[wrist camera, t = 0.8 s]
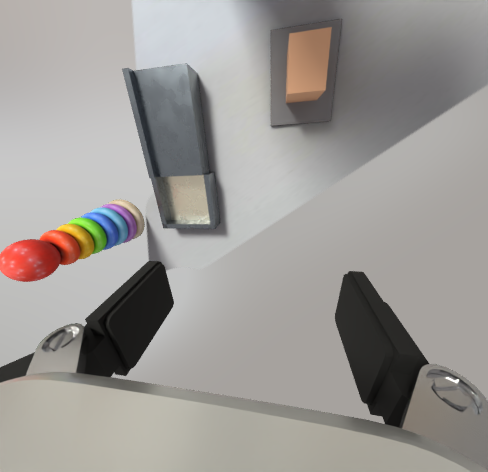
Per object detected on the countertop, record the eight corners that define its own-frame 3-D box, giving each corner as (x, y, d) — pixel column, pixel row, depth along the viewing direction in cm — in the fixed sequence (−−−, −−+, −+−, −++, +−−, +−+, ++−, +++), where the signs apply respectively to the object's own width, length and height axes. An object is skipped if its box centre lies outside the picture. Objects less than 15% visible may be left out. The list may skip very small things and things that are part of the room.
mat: (270, 32, 23) (270, 30, 23) (340, 20, 22) (342, 18, 22) (270, 125, 28) (270, 125, 27) (329, 121, 26) (330, 120, 26)
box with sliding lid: (139, 80, 28) (116, 69, 24) (202, 72, 26) (189, 58, 22) (171, 222, 37) (158, 231, 33) (220, 222, 35) (212, 232, 31)
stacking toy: (149, 208, 36) (39, 262, 20) (143, 242, 40) (46, 312, 23) (110, 191, 36) (-35, 230, 19) (108, 227, 40) (-17, 286, 23)
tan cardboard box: (287, 54, 24) (289, 33, 19) (321, 50, 23) (331, 27, 19) (285, 103, 26) (287, 93, 21) (316, 100, 25) (325, 89, 21)
